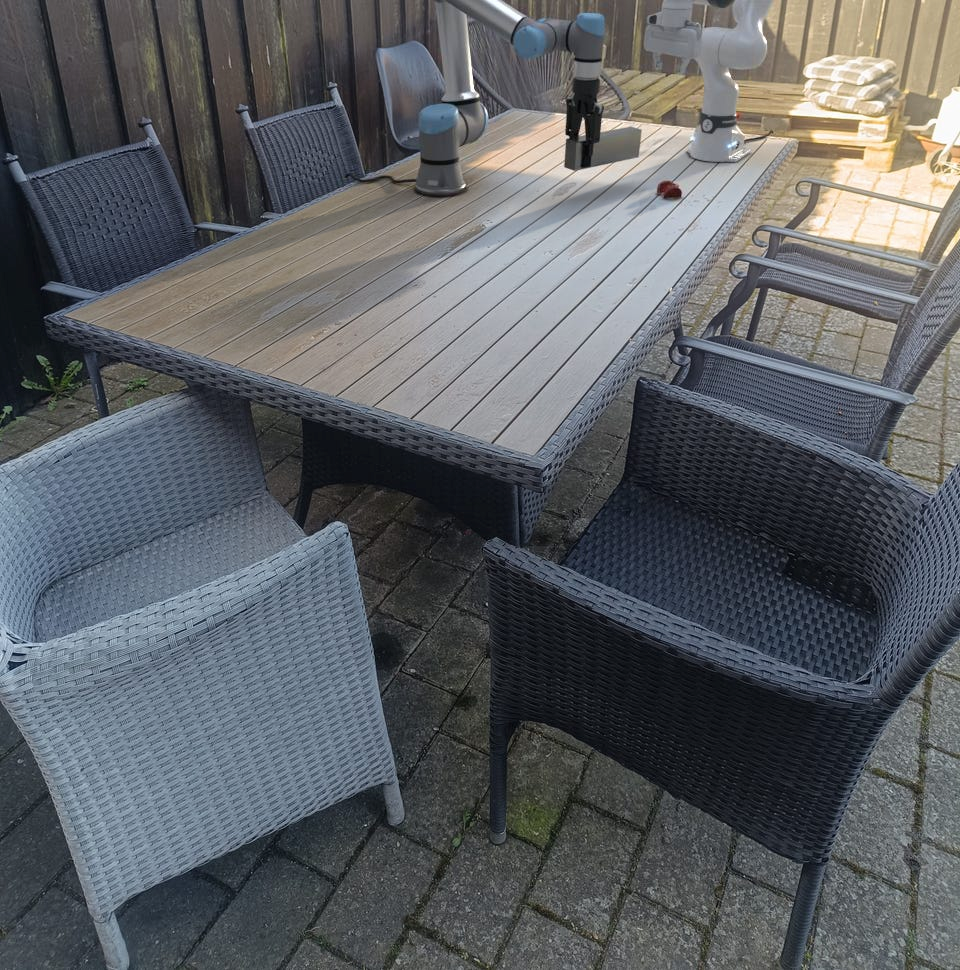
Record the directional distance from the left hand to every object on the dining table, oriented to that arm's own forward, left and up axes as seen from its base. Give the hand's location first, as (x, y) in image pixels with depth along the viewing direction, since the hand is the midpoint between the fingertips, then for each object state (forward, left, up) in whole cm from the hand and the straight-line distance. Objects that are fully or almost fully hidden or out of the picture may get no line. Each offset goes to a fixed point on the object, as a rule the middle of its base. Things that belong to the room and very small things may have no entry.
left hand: (580, 164), depth 246 cm
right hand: (+7, +36, +21) cm, 42 cm away
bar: (+2, +9, -1) cm, 9 cm away
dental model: (+20, +19, -10) cm, 29 cm away
